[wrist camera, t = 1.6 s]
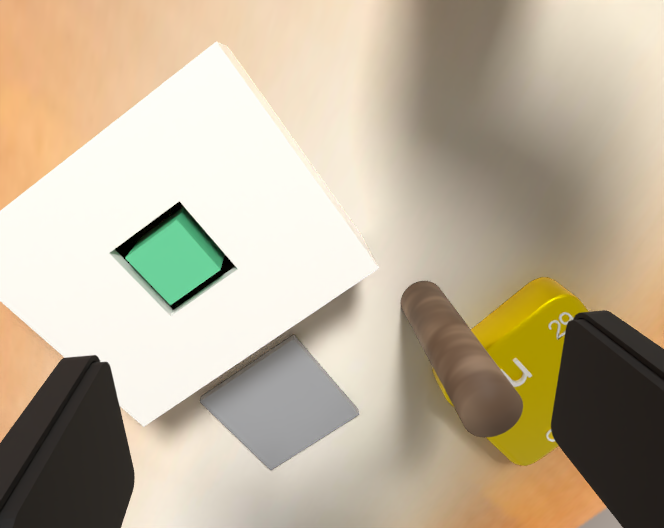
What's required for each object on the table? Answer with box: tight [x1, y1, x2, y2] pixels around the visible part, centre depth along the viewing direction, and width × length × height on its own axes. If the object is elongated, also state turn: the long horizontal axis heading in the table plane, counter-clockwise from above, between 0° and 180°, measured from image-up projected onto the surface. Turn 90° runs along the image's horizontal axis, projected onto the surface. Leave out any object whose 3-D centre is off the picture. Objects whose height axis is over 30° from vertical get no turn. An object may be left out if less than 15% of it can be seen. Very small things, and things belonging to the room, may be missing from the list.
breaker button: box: [125, 206, 225, 305], centre depth 35 cm, size 4×4×4 cm
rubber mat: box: [200, 335, 359, 470], centre depth 48 cm, size 11×11×1 cm
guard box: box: [0, 42, 379, 427], centre depth 37 cm, size 22×18×8 cm
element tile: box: [432, 277, 589, 466], centre depth 48 cm, size 15×15×5 cm
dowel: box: [401, 281, 523, 437], centre depth 39 cm, size 4×4×16 cm
